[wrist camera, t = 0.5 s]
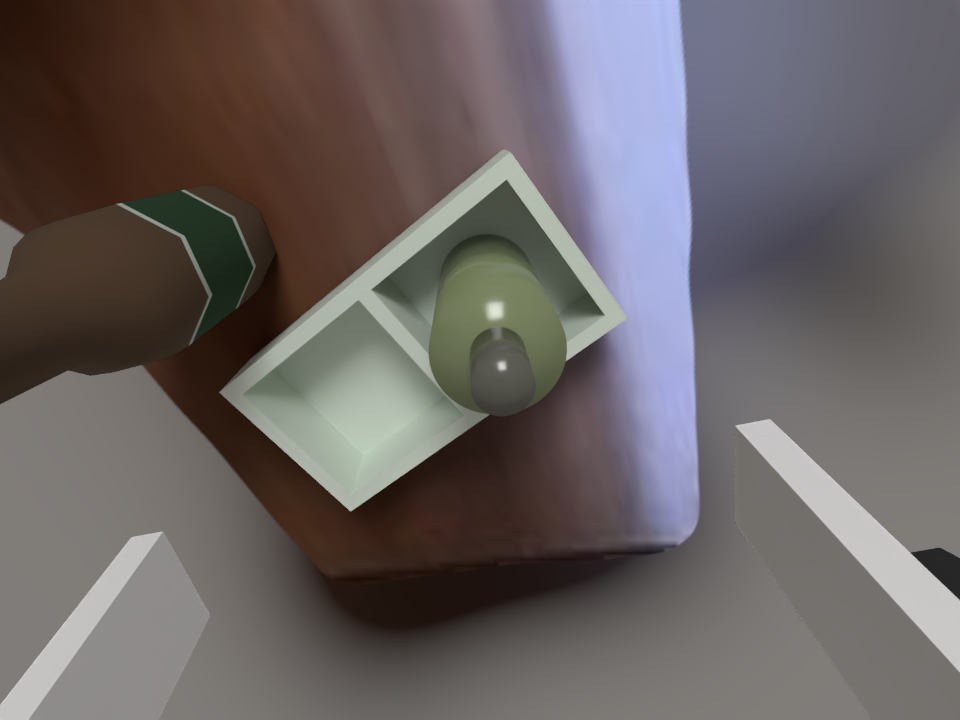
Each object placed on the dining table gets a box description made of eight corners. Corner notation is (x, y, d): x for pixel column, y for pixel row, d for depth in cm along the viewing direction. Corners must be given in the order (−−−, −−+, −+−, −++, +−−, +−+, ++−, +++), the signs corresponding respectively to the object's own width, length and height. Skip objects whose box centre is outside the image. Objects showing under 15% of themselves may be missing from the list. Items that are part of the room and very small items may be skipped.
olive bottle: (420, 273, 36) (389, 376, 21) (495, 213, 35) (520, 277, 20) (478, 342, 39) (488, 481, 23) (551, 288, 37) (613, 398, 22)
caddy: (252, 357, 39) (218, 392, 34) (503, 148, 34) (510, 152, 29) (364, 464, 43) (350, 511, 38) (604, 291, 38) (627, 318, 33)
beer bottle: (279, 305, 38) (23, 549, 16) (165, 291, 37) (-269, 524, 15) (279, 191, 35) (-38, 295, 13) (154, 173, 34) (-404, 251, 12)
